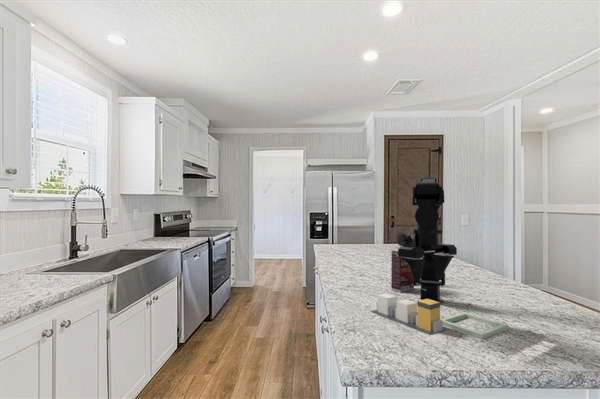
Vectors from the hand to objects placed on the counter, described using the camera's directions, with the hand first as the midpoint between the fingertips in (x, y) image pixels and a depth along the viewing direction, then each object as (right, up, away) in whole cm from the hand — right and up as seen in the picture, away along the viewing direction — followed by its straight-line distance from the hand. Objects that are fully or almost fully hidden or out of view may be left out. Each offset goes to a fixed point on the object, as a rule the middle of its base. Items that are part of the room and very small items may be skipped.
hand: (428, 281), depth 94 cm
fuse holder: (-6, -13, +1) cm, 14 cm away
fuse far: (-9, -12, +8) cm, 17 cm away
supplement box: (+5, -14, +40) cm, 42 cm away
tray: (+11, -13, -4) cm, 17 cm away
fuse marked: (-2, -11, -5) cm, 12 cm away
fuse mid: (-6, -11, +1) cm, 13 cm away
